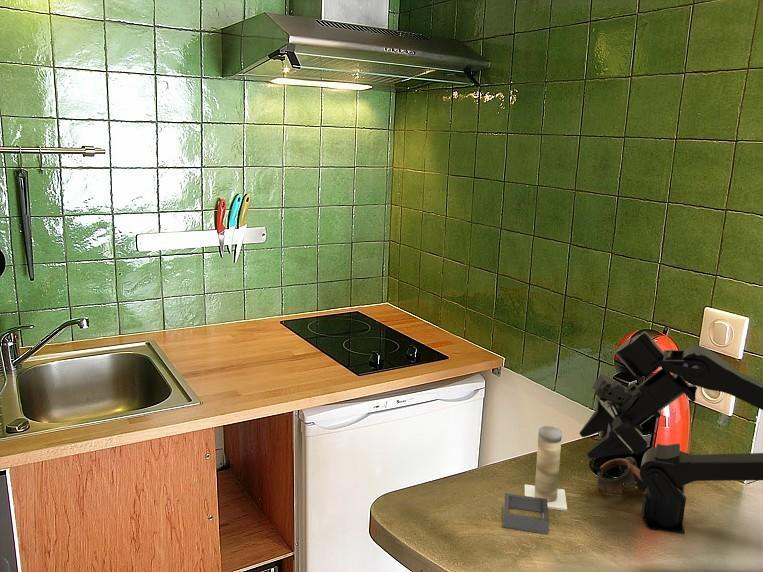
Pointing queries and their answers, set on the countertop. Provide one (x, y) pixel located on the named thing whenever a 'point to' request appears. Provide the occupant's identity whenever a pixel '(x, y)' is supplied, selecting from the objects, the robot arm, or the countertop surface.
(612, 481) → the pottery mug
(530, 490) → the off-white pad
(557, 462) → the beige cylinder grey cap
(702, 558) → the countertop surface
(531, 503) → the metal holder
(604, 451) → the robot arm
